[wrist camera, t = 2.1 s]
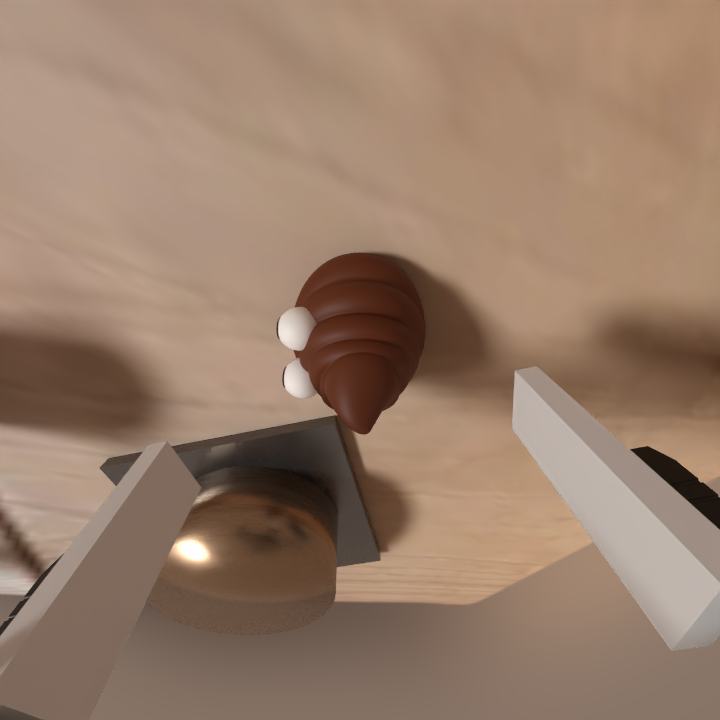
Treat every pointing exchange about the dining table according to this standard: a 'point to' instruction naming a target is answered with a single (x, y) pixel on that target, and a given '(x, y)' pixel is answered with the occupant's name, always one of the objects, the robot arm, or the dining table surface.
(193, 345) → the dining table surface
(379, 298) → the poop emoji
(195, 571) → the post stand
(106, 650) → the robot arm
